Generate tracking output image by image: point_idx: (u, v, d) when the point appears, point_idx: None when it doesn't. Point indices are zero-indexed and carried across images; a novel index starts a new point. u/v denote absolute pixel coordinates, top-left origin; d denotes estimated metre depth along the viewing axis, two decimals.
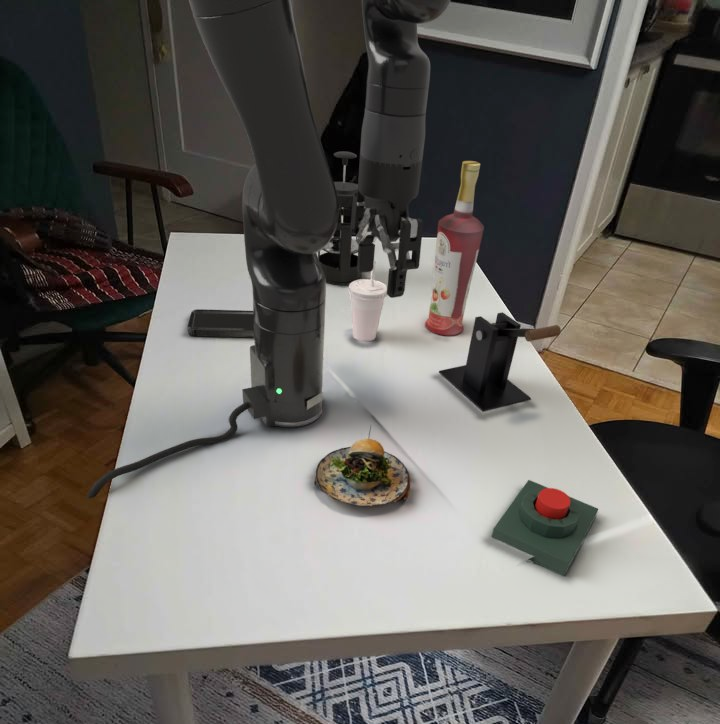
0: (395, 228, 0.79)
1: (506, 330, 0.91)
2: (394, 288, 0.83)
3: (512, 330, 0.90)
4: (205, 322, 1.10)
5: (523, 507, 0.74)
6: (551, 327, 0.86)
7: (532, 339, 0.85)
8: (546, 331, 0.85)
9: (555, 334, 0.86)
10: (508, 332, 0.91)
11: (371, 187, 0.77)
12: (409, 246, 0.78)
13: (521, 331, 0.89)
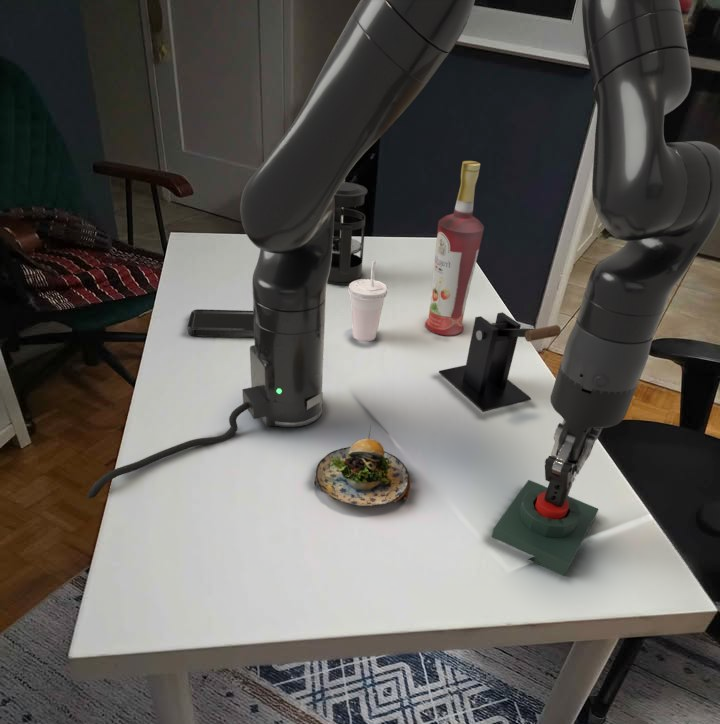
0: (560, 446, 0.66)
1: (506, 330, 0.91)
2: (548, 494, 0.73)
3: (512, 330, 0.90)
4: (205, 322, 1.10)
5: (523, 507, 0.74)
6: (551, 327, 0.86)
7: (532, 339, 0.85)
8: (546, 331, 0.85)
9: (555, 334, 0.86)
10: (508, 332, 0.91)
11: (553, 392, 0.65)
12: (552, 475, 0.67)
13: (521, 331, 0.89)
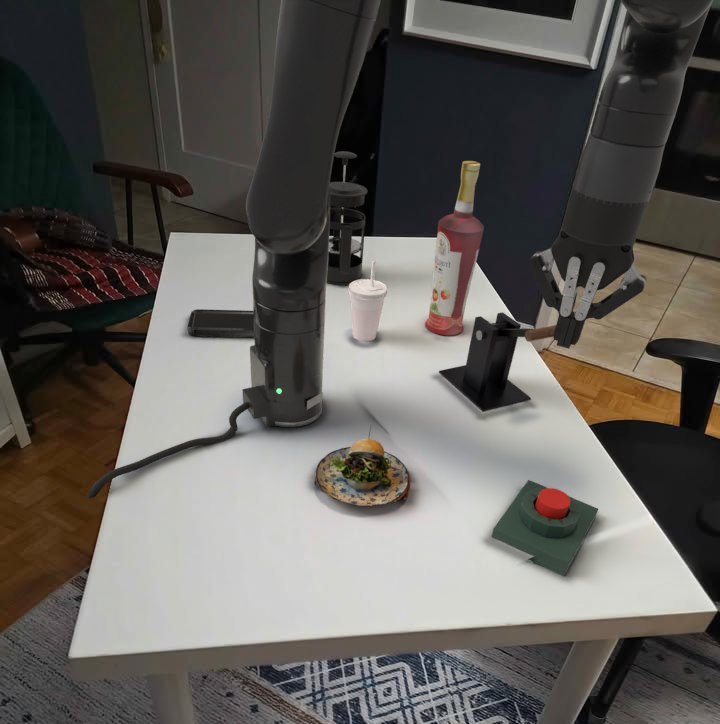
0: (623, 273, 0.68)
1: (506, 330, 0.91)
2: (576, 338, 0.74)
3: (512, 330, 0.90)
4: (205, 322, 1.10)
5: (523, 507, 0.74)
6: (551, 327, 0.86)
7: (532, 339, 0.85)
8: (546, 331, 0.85)
9: None
10: (508, 332, 0.91)
11: (613, 233, 0.64)
12: None
13: (521, 331, 0.89)
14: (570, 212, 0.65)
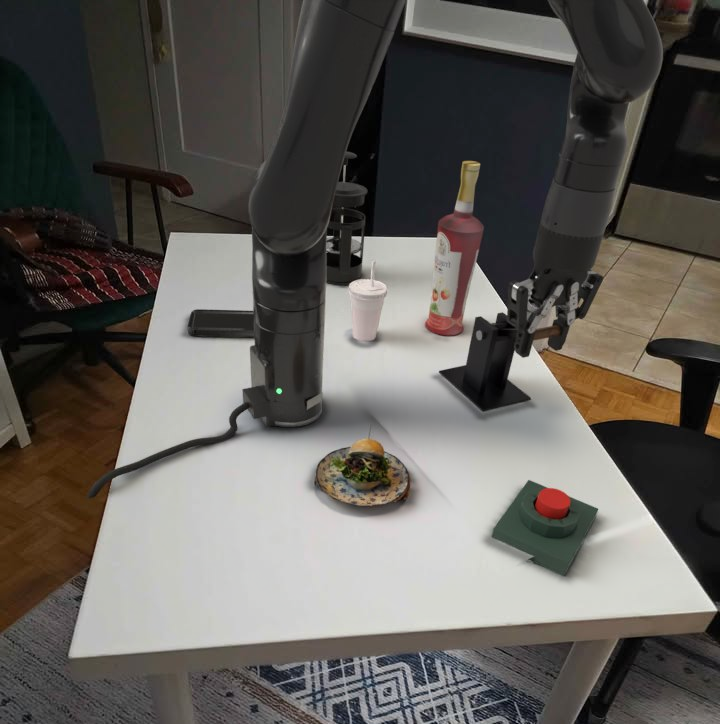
0: None
1: (506, 330, 0.91)
2: (564, 339, 0.88)
3: (512, 330, 0.90)
4: (205, 322, 1.10)
5: (523, 507, 0.74)
6: (551, 327, 0.86)
7: None
8: (546, 331, 0.85)
9: (555, 334, 0.86)
10: (508, 332, 0.91)
11: (595, 258, 0.77)
12: None
13: None
14: (561, 252, 0.76)
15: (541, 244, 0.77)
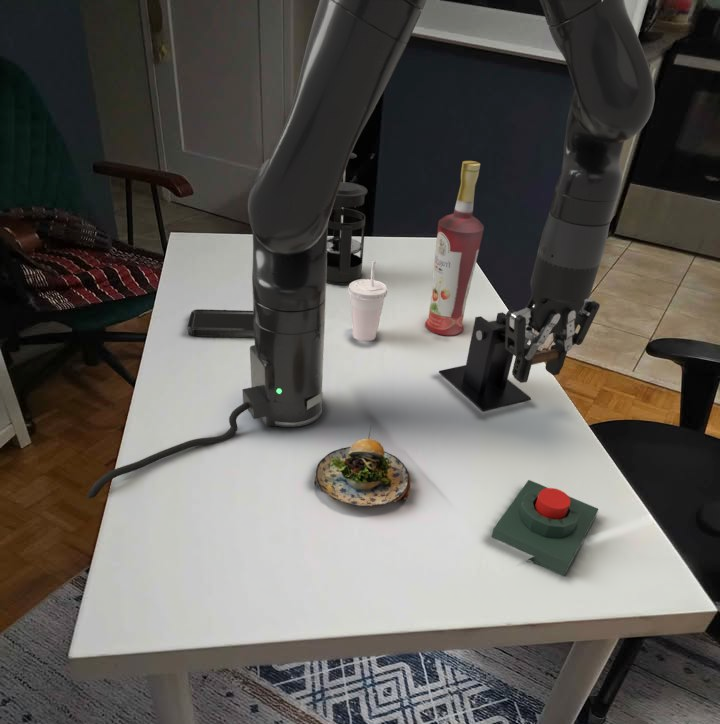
0: (578, 310, 0.84)
1: None
2: (561, 364, 0.89)
3: None
4: (205, 322, 1.10)
5: (523, 507, 0.74)
6: (550, 352, 0.87)
7: None
8: (545, 357, 0.87)
9: (552, 359, 0.88)
10: None
11: (591, 288, 0.79)
12: None
13: None
14: (557, 283, 0.77)
15: (538, 275, 0.79)
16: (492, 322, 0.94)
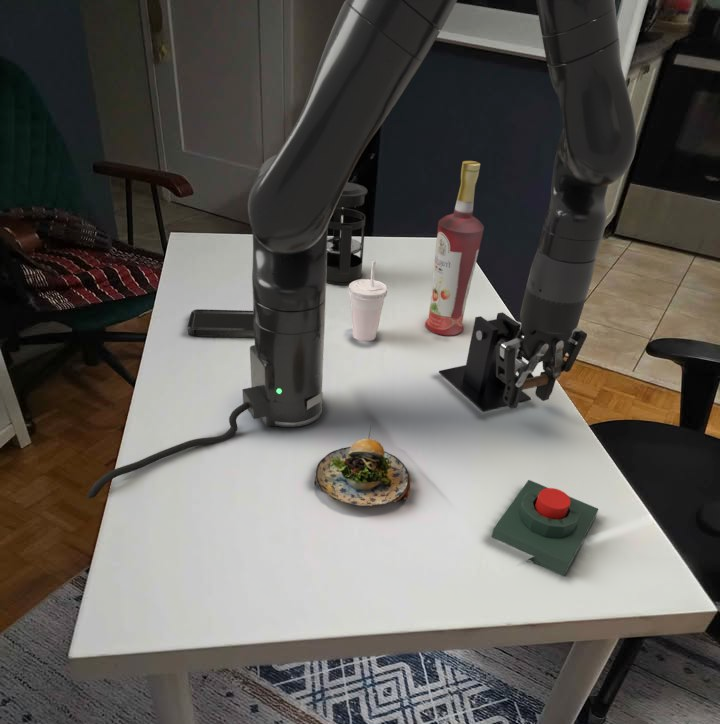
0: None
1: None
2: (551, 390, 0.92)
3: None
4: (205, 322, 1.10)
5: (523, 507, 0.74)
6: (541, 380, 0.90)
7: None
8: (535, 384, 0.90)
9: (541, 385, 0.91)
10: None
11: (577, 320, 0.82)
12: None
13: None
14: (545, 316, 0.80)
15: (527, 307, 0.82)
16: (495, 322, 0.94)
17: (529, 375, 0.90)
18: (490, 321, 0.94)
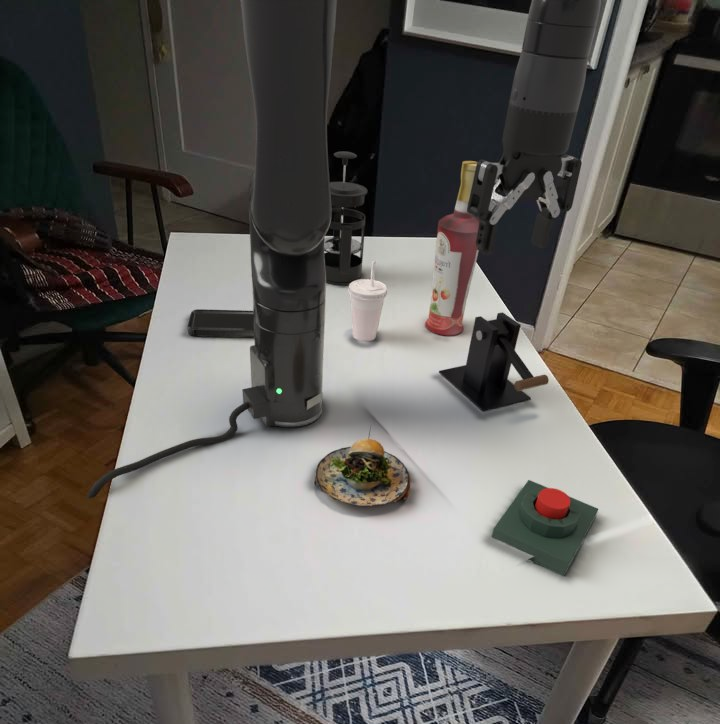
0: (556, 175, 0.77)
1: (504, 346, 0.93)
2: (548, 235, 0.82)
3: (509, 352, 0.92)
4: (205, 322, 1.10)
5: (523, 507, 0.74)
6: (541, 380, 0.90)
7: (519, 390, 0.90)
8: (535, 385, 0.90)
9: (541, 385, 0.91)
10: (505, 350, 0.93)
11: (568, 141, 0.72)
12: None
13: (515, 363, 0.91)
14: (531, 132, 0.70)
15: (510, 125, 0.71)
16: (495, 322, 0.94)
17: (529, 375, 0.90)
18: (490, 321, 0.94)
